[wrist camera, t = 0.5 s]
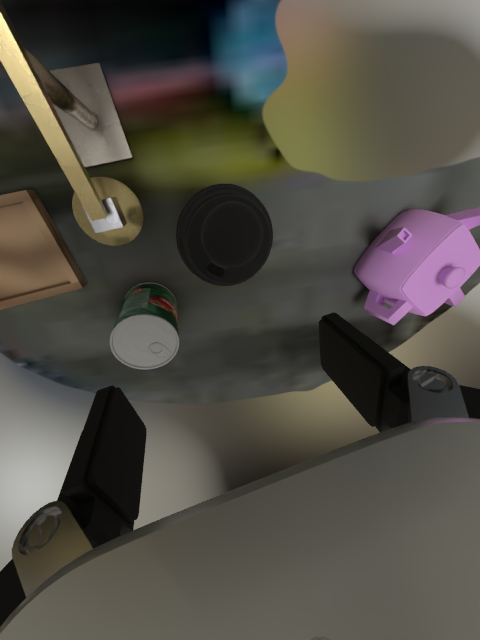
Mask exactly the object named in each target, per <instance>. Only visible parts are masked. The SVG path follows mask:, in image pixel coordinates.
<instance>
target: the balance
mask: <svg viewBox="0 0 480 640" xmlns="http://www.w3.org/2000/svg"><path fill="white" fill-rule="evenodd" d="M0 60H1V62H2V64H3V66H4V68H5V69H6V71H7V73H8V75H9V76H10V78H11V80H12V82H13V83H14V85H15V87H16V89H17V90H18V92H19V94H20V96H21V97H22V99H23V101H24V103H25V104H26V106H27V108H28V110H29V112H30V113H31V115H32V117H33V119H34V120H35V122H36V124H37V126H38V127H39V129H40V131H41V133H42V134H43V136H44V138H45V140H46V141H47V143H48V145H49V147H50V148H51V150H52V152H53V154H54V156H55V157H56V159H57V161H58V163H59V164H60V166H61V168H62V170H63V171H64V173H65V175H66V177H67V178H68V180H69V182H70V184H71V185H72V187H73V189H74V191H75V192H74V195H73V200H72V208H73V213H74V216H75V218H76V221H77V222H78V224H79V226H80V227H81V228H82V230H83V231H84V232H85V233H86V234H87V235H89V236H90V237H91V238H93V239H94V240H96V241H98V242H100V243H103V244H106V245H113V246H117V245H123V244H127V243H129V242H131V241H132V240H133V239H134V238H136V236H137V235H138V234H139V232H140V231H141V228H142V225H143V210H142V206H141V204H140V202H139V200H138V198H137V196H136V195H135V194H134V193H133V191H132V190H131V189H130V188H128V187H127V186H126V185H125V184H123V183H121V182H120V181H118V180H115V179H112V178H108V177H93V178H90V177H89V175H88V173H87V171H86V169H85V168H90V167H95V166H99V165H104V164H109V163H114V162H119V161H124V160H128V159H133V155H132V152H131V150H130V147H129V144H128V141H127V138H126V135H125V132H124V130H123V127H122V124H121V121H120V118H119V115H118V112H117V110H116V107H115V104H114V101H113V98H112V95H111V93H110V90H109V87H108V84H107V81H106V78H105V75H104V73H103V70H102V67H101V65H100V64H99V63H95V64H88V65H82V66H76V67H70V68H63V69H57V70H51V71H49V70H47V69H46V68H45V67H44V66H43V65H42V64H41V63H40V62H39V61H38V60H37V59H36V58H35V57H34V56H33V55H32V54H31V53H30V52H29V51H27V50H26V49H25V48H24V47H23V45H22V43H21V41H20V39H19V37H18V35H17V33H16V31H15V29H14V27H13V25H12V23H11V21H10V19H9V17H8V15H7V13H6V11H5V9H4V7H3V5H2V3H1V1H0Z"/></svg>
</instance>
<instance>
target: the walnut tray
mask: <svg viewBox="0 0 480 640" xmlns="http://www.w3.org/2000/svg"><path fill="white" fill-rule="evenodd" d="M86 284H87V282H86V280H85V279H84V277H83V275H82V273H81V271H80V270H79V268H78V266H77V264H76V263H75V261H74V259H73V257H72V255H71V254H70V252H69V250H68V248H67V246H66V245H65V243H64V241H63V239H62V238H61V236H60V234H59V232H58V230H57V229H56V227H55V225H54V223H53V221H52V220H51V218H50V216H49V214H48V213H47V211H46V209H45V207H44V205H43V204H42V202H41V200H40V198H39V196H38V195H37V193H36V191H35V190H23V191H19V192H14V193H9V194H4V195H0V310H1V309H5V308H9V307H13V306H17V305H20V304H24V303H28V302H32V301H36V300H39V299H43V298H47V297H51V296H55V295H58V294H62V293H66V292H70V291H74V290H77V289H81V288H83V287H84V286H85V285H86Z"/></svg>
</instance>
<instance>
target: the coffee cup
mask: <svg viewBox="0 0 480 640" xmlns="http://www.w3.org/2000/svg"><path fill="white" fill-rule="evenodd" d="M176 238H177V246H178V250H179V253H180V255H181V258H182V260H183V261H184V263H185V264H186V266H187V267H188V268H189V269H190V271H191V272H192V273H194V274H195V275H196V276H197V277H199V278H200V279H202V280H203V281H205V282H208V283H210V284H214V285H219V286H230V285H235V284H239V283H242V282H244V281H246V280H248V279H249V278H251V277H252V276H254V275H255V274H256V273H257V272H258V271H259V270H260V269H261V268H262V266H263V265H264V263H265V262H266V260H267V258H268V256H269V253H270V250H271V246H272V240H273V230H272V223H271V220H270V217H269V214H268V212H267V210H266V208H265V207H264V205H263V204H262V203H261V201H260V200H259V199H258V198H257V197H256V196H255V195H254V194H252V193H251V192H250V191H248V190H246V189H244V188H242V187H240V186H236V185H232V184H217V185H213V186H209V187H207V188H205V189H203V190H201V191H199V192H198V193H197V194H195V195H194V196H193V197H192V198H191V199H190V200H189V201H188V202H187V204H186V205H185V207H184V208H183V210H182V212H181V215H180V217H179V220H178V224H177V232H176Z"/></svg>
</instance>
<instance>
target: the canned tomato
mask: <svg viewBox="0 0 480 640" xmlns="http://www.w3.org/2000/svg"><path fill="white" fill-rule="evenodd" d="M110 347H111V350H112V352H113V354H114V356H115V357H116V358H117V359H118V360H119V361H120V362H122V363H123V364H125V365H127V366H129V367H132V368H136V369H154V368H158V367H160V366H163V365H165V364H166V363H168V362H169V361H170V360H171V359H172V358H174V356H175V355H176V353H177V351H178V348H179V334H178V318H177V302H176V299H175V297H174V295H173V293H172V292H171V291H170V290H169V289H168V288H166V287H165V286H163V285H161V284H158V283H152V282H145V283H141V284H138V285H136V286H134V287H133V288H131V289H130V290H129V292H128V293H127V295H126V296H125V300H124V303H123V305H122V308H121V310H120V313H119V315H118V318H117V321H116V323H115V325H114V329H113V331H112V332H111V336H110Z"/></svg>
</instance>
